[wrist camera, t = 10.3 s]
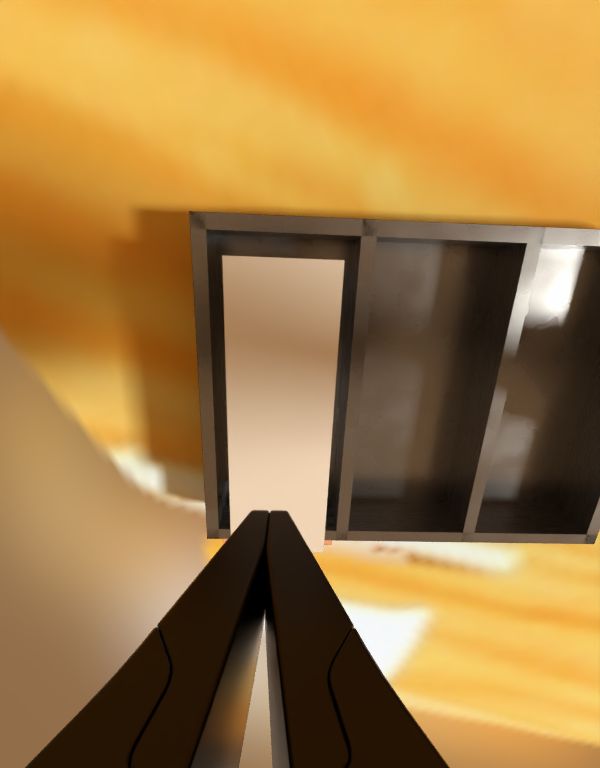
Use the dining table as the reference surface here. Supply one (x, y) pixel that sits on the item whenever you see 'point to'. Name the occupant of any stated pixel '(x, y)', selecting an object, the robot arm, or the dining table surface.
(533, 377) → the divided tray
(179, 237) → the dining table surface
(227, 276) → the blanking panel
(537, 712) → the dining table surface
